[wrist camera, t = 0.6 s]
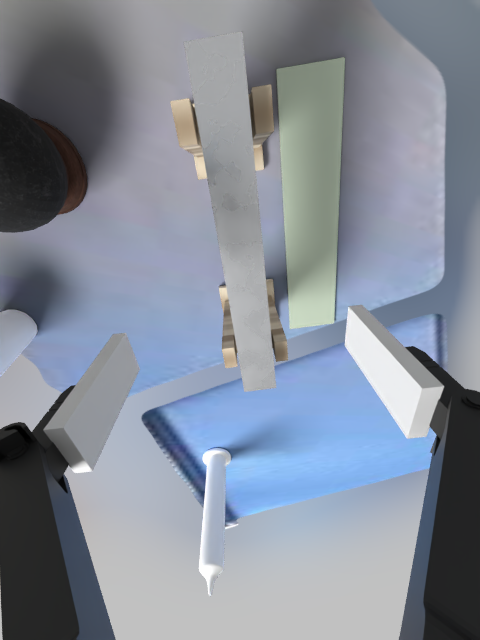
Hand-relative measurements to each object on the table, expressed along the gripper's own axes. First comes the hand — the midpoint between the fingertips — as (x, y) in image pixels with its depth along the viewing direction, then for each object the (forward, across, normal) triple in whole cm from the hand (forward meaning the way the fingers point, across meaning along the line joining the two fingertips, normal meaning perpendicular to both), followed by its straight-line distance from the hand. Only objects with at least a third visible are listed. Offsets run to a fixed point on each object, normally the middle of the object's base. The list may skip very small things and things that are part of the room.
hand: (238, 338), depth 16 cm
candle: (+28, -11, -53) cm, 61 cm away
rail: (+16, +1, +1) cm, 16 cm away
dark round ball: (+29, -24, +12) cm, 40 cm away
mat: (+28, +12, +1) cm, 31 cm away
